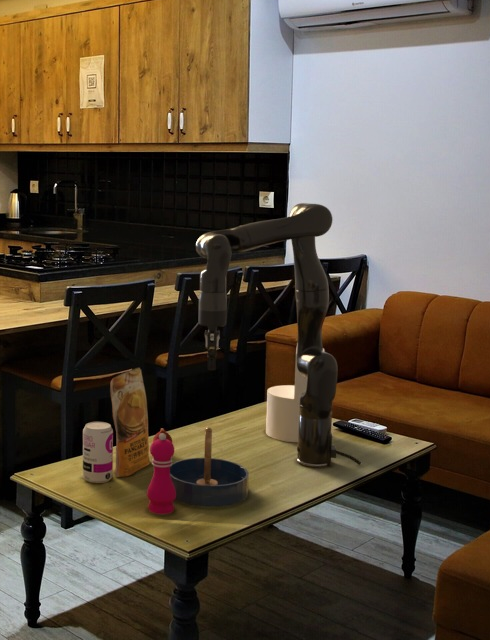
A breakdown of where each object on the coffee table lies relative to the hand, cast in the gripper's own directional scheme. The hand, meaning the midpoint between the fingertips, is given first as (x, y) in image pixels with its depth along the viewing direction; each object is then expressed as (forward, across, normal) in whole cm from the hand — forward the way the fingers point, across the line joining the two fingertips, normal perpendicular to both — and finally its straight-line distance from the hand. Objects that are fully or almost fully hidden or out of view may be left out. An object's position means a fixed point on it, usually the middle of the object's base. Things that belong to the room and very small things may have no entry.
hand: (211, 366), depth 239 cm
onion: (+31, +17, +14) cm, 38 cm away
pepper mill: (+31, -26, +12) cm, 42 cm away
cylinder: (+32, +43, -26) cm, 60 cm away
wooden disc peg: (+31, -12, +1) cm, 33 cm away
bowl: (+31, -12, +1) cm, 34 cm away
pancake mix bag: (+31, +3, +22) cm, 39 cm away
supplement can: (+31, -6, +31) cm, 44 cm away
